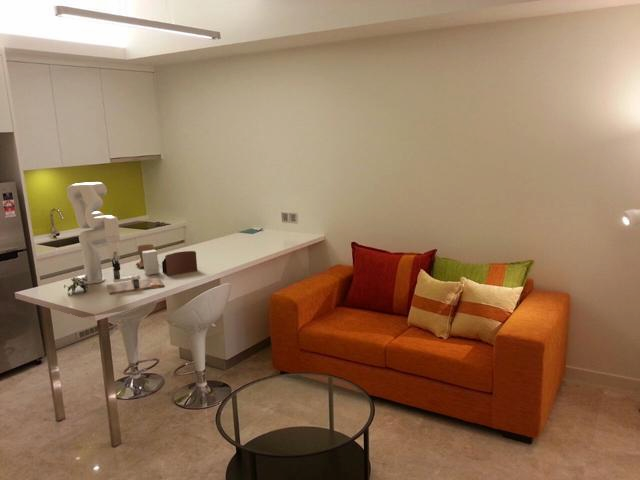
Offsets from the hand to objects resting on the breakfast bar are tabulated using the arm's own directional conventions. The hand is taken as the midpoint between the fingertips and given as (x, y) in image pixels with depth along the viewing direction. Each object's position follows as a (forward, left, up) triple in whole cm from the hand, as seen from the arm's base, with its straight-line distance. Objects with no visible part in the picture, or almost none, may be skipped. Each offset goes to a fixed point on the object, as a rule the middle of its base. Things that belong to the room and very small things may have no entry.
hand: (116, 268), depth 305 cm
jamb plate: (+10, +7, -14) cm, 18 cm away
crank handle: (+5, +1, -8) cm, 9 cm away
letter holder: (+40, +27, -14) cm, 50 cm away
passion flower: (-21, +11, -14) cm, 28 cm away
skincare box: (+23, +33, -14) cm, 42 cm away
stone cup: (+23, +57, -14) cm, 63 cm away
